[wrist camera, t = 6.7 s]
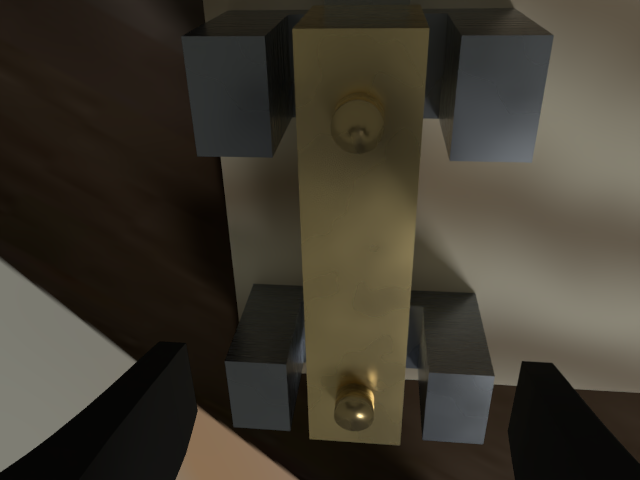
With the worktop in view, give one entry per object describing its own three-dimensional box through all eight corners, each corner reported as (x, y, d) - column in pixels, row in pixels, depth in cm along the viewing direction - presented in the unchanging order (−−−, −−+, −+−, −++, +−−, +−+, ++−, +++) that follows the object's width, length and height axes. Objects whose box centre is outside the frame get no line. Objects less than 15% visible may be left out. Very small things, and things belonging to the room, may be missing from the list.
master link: (398, 363, 22) (400, 465, 18) (321, 358, 22) (306, 459, 18) (420, 4, 16) (432, 34, 12) (312, 5, 16) (286, 34, 12)
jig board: (651, 379, 23) (659, 393, 23) (248, 357, 25) (244, 369, 24) (806, -57, 16) (826, -56, 15) (205, -46, 17) (197, -45, 17)
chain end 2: (463, 377, 23) (478, 468, 19) (261, 365, 24) (236, 450, 20) (475, 293, 21) (494, 376, 17) (253, 283, 22) (224, 361, 18)
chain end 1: (500, 109, 18) (532, 162, 14) (236, 107, 19) (197, 156, 15) (520, -39, 16) (564, -25, 12) (223, -34, 17) (173, -20, 13)
